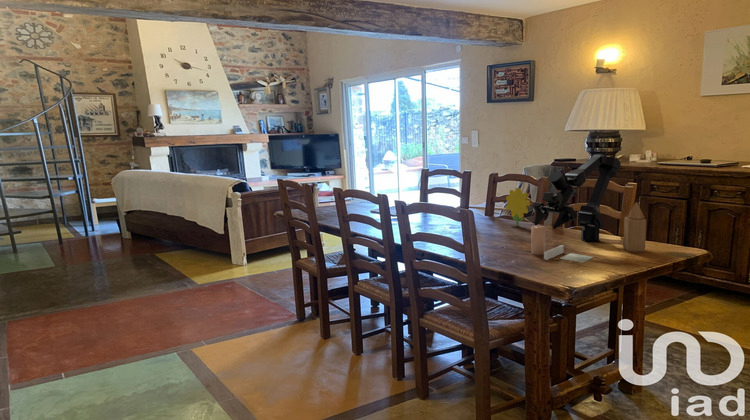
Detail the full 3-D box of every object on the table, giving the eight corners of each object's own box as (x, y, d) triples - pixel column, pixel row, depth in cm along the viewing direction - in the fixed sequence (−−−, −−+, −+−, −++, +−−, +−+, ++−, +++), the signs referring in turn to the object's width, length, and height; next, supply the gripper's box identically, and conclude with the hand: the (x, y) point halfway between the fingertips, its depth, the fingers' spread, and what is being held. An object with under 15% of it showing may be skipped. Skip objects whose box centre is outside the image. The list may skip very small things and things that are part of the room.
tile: (570, 254, 195) (570, 253, 195) (593, 257, 189) (593, 256, 189) (559, 258, 189) (559, 257, 189) (582, 262, 183) (582, 261, 183)
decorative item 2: (645, 252, 194) (648, 202, 191) (627, 252, 195) (629, 202, 192) (639, 248, 200) (642, 200, 197) (622, 248, 202) (624, 200, 198)
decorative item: (530, 227, 247) (530, 188, 244) (528, 228, 246) (528, 189, 243) (507, 223, 260) (507, 186, 257) (505, 223, 260) (506, 186, 256)
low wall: (560, 252, 199) (560, 245, 198) (563, 252, 198) (563, 245, 197) (543, 259, 189) (544, 251, 189) (546, 259, 188) (546, 252, 188)
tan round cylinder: (543, 251, 201) (543, 225, 200) (546, 254, 196) (547, 228, 194) (529, 251, 202) (530, 225, 200) (532, 254, 197) (533, 228, 195)
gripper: (535, 183, 207) (517, 211, 203) (573, 186, 191) (554, 217, 187) (547, 199, 212) (529, 227, 208) (585, 204, 196) (566, 234, 193)
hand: (544, 226), depth 199 cm, fingers open, 9 cm apart
